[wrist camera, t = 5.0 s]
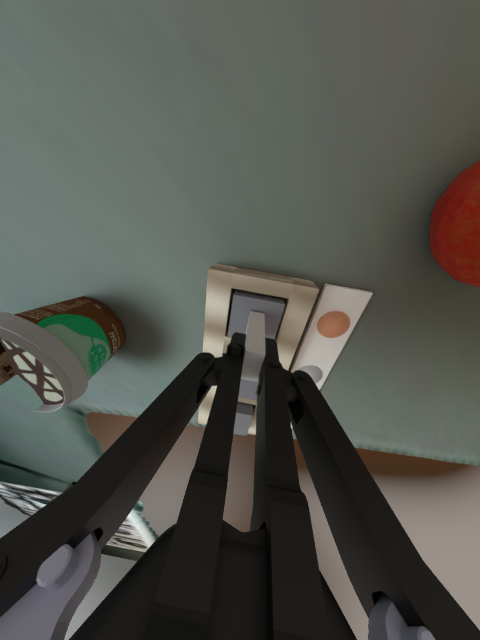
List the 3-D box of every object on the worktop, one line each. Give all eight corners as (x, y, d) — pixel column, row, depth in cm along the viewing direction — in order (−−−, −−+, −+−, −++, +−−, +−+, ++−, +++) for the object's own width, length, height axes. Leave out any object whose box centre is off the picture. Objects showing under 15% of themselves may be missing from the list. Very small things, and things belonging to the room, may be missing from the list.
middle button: (227, 347, 24) (222, 363, 21) (265, 355, 23) (266, 372, 21) (223, 375, 26) (218, 393, 23) (257, 381, 26) (257, 400, 23)
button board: (215, 263, 20) (208, 268, 17) (311, 280, 20) (319, 289, 17) (203, 407, 32) (198, 423, 30) (262, 419, 32) (262, 436, 29)
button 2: (237, 285, 20) (233, 294, 17) (281, 293, 20) (285, 304, 17) (231, 323, 23) (227, 337, 20) (271, 331, 23) (272, 346, 20)
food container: (140, 362, 29) (87, 422, 20) (105, 357, 29) (37, 414, 20) (122, 290, 23) (34, 330, 14) (78, 285, 23) (-35, 321, 14)
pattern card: (325, 283, 19) (327, 285, 19) (369, 291, 19) (373, 293, 19) (270, 420, 32) (270, 425, 31) (297, 426, 32) (298, 430, 31)
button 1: (221, 390, 28) (216, 408, 25) (253, 396, 27) (252, 415, 25) (218, 410, 30) (213, 429, 27) (247, 416, 30) (246, 435, 27)
